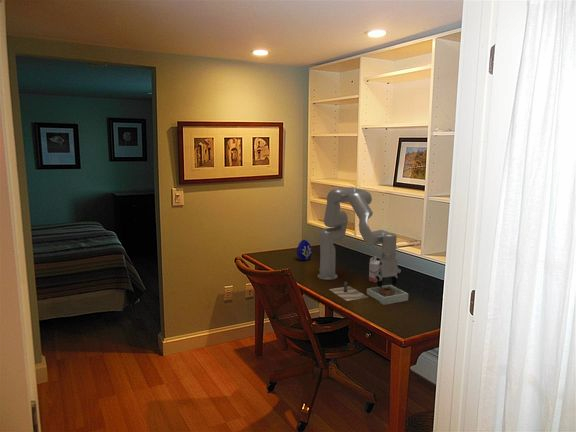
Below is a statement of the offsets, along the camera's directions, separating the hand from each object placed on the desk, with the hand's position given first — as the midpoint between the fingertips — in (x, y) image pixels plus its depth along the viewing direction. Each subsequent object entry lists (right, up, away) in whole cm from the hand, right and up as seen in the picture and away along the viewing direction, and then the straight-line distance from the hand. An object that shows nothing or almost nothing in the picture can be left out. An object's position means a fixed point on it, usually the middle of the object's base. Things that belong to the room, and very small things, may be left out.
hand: (386, 285), depth 249 cm
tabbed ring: (0, -6, +2) cm, 6 cm away
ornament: (-43, +6, +77) cm, 88 cm away
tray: (0, -7, +1) cm, 7 cm away
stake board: (-20, -6, +6) cm, 22 cm away
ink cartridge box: (0, -2, +31) cm, 31 cm away
